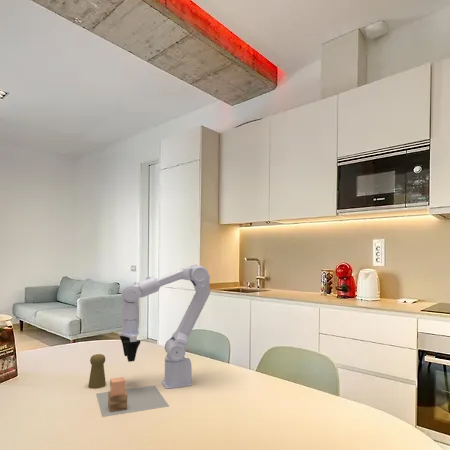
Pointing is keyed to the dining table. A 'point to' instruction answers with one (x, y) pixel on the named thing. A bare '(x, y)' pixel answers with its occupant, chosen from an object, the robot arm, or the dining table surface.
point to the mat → (134, 401)
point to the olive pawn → (97, 372)
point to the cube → (117, 386)
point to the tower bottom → (117, 406)
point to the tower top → (117, 398)
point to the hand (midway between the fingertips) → (129, 358)
